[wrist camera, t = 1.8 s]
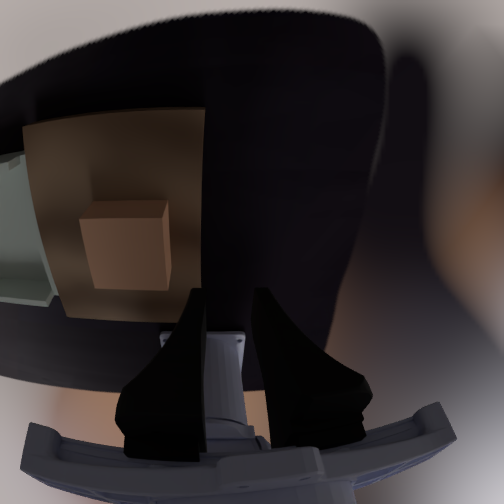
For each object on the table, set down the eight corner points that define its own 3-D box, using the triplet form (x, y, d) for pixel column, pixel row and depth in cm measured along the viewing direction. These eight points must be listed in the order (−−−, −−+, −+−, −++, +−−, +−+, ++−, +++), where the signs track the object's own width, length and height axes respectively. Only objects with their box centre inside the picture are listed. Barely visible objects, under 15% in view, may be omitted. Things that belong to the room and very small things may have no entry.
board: (201, 306, 25) (201, 322, 23) (74, 301, 23) (67, 316, 21) (205, 107, 16) (204, 109, 15) (37, 121, 14) (22, 126, 13)
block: (171, 267, 20) (168, 290, 18) (104, 266, 19) (94, 288, 17) (168, 200, 17) (162, 218, 15) (93, 201, 16) (78, 219, 14)
